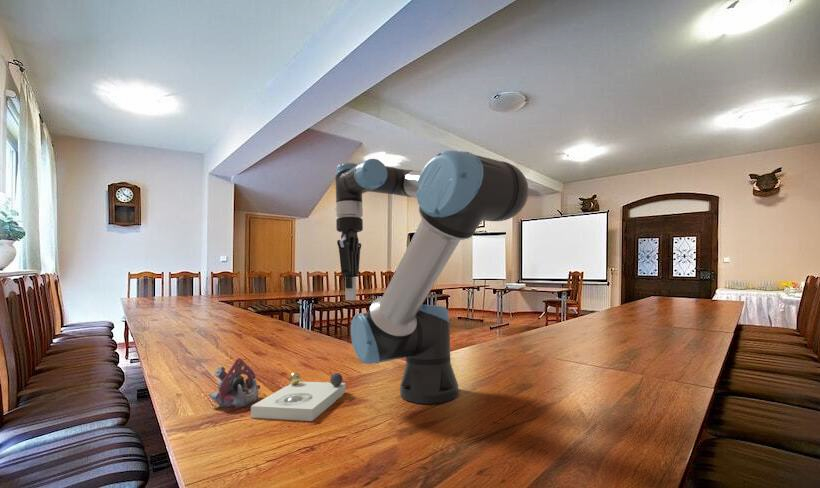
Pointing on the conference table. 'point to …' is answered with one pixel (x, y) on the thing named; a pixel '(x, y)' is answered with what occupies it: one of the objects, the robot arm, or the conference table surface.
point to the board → (308, 407)
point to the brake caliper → (235, 386)
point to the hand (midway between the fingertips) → (350, 300)
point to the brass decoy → (294, 378)
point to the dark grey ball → (336, 379)
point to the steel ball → (292, 399)
